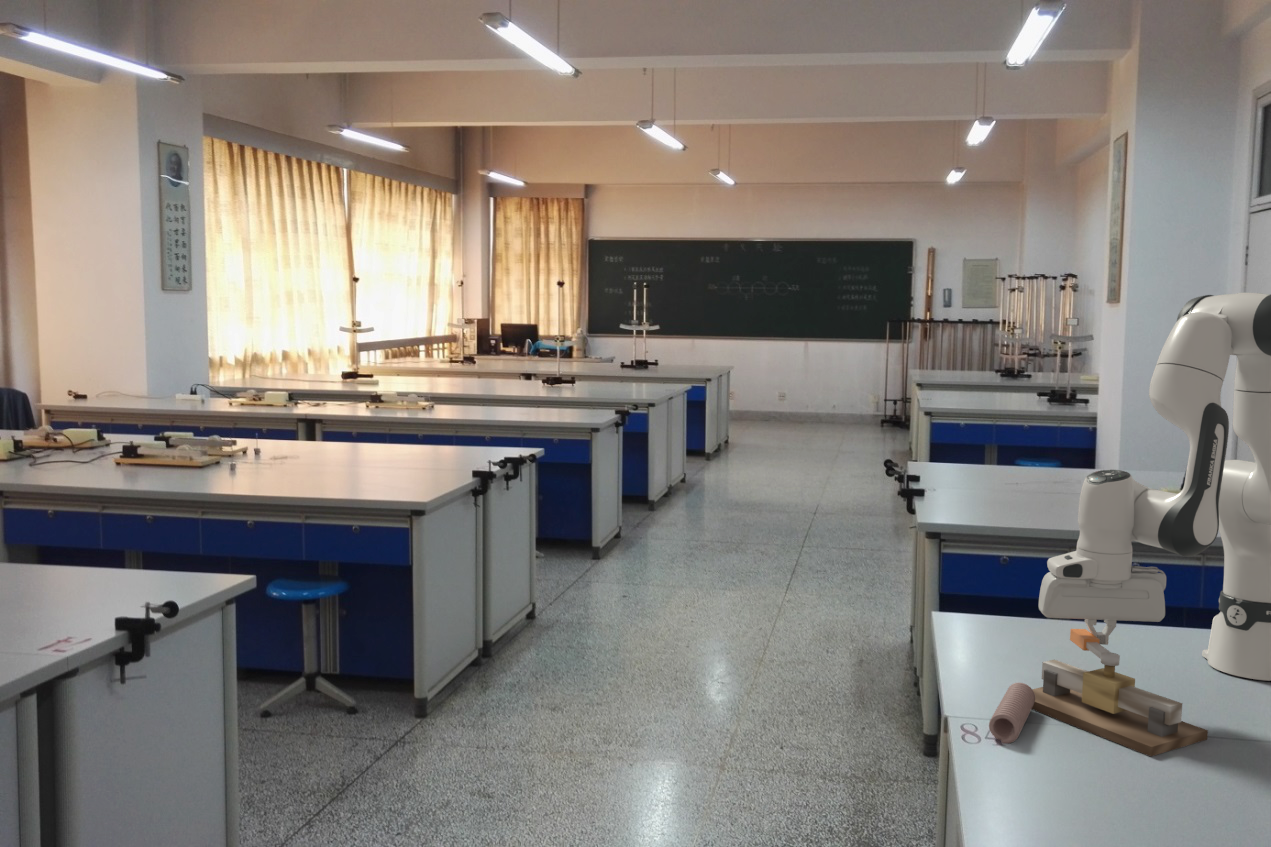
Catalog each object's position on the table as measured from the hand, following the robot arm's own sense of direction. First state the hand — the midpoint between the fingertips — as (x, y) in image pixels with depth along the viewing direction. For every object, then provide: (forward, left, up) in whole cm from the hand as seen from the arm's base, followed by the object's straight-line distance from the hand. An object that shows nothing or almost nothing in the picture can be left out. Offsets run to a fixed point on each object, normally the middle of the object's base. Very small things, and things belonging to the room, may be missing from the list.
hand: (1099, 643), depth 191 cm
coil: (+23, +2, -10) cm, 25 cm away
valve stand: (+8, +8, -10) cm, 15 cm away
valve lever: (+5, +3, 0) cm, 5 cm away
